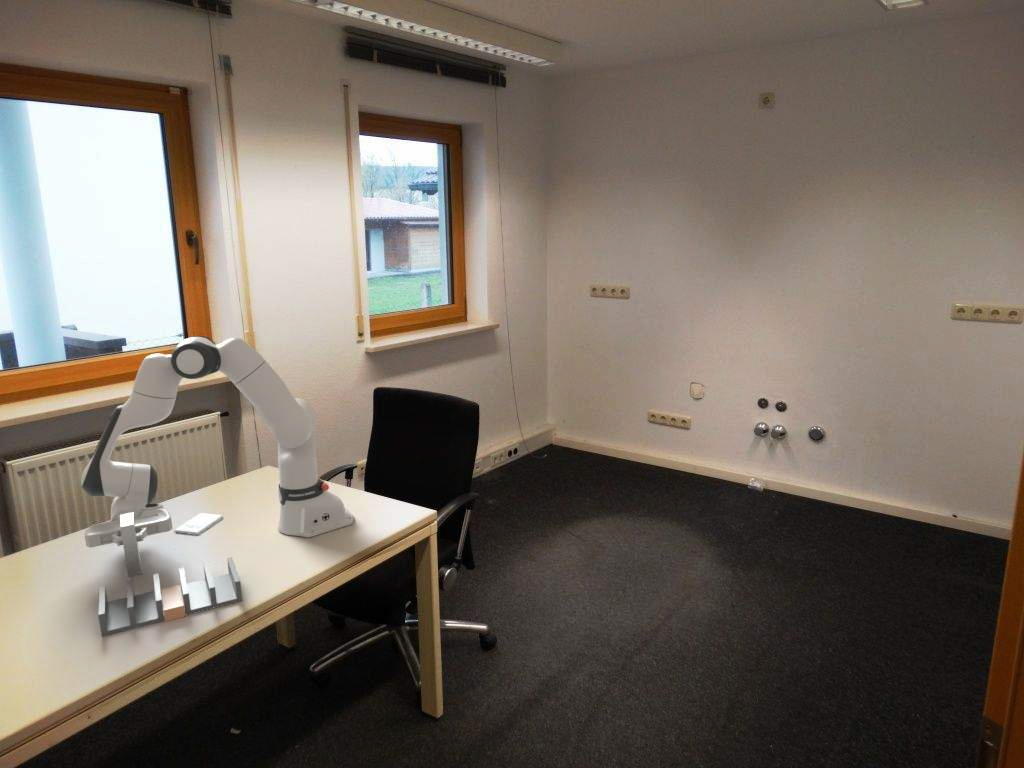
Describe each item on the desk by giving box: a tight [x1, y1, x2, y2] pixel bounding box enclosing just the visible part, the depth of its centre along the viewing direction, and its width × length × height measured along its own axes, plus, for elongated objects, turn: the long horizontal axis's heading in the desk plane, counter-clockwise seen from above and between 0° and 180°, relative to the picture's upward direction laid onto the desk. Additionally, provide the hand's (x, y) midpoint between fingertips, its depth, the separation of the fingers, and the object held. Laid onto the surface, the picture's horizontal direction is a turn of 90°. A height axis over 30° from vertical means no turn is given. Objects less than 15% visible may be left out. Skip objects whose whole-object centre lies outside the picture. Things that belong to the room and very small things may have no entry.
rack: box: [97, 556, 243, 637], centre depth 167 cm, size 30×15×6 cm, turn 120°
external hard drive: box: [173, 512, 224, 536], centre depth 211 cm, size 2×8×12 cm
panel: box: [120, 513, 143, 578], centre depth 175 cm, size 3×8×14 cm, turn 30°
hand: (130, 540), depth 175 cm, fingers closed on panel, 3 cm apart
